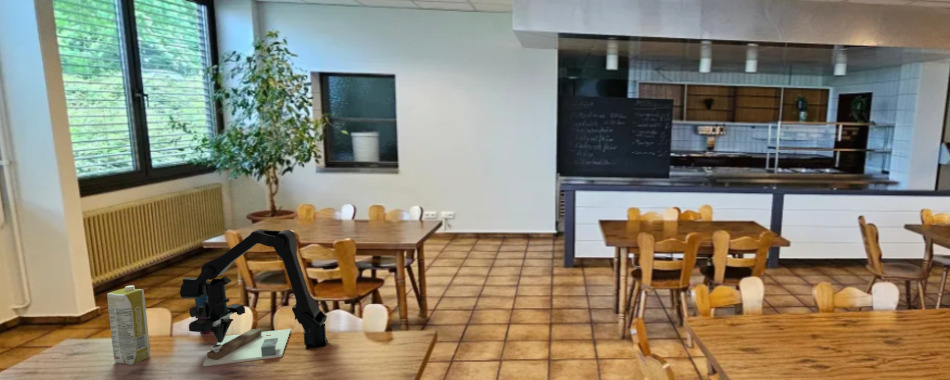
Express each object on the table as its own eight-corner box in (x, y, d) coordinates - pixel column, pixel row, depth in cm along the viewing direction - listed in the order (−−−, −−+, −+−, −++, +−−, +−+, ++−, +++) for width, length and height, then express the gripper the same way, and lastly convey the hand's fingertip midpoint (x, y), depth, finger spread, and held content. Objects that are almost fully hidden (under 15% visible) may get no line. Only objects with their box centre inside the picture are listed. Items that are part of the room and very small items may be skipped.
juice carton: (154, 356, 161) (147, 284, 158) (131, 367, 154) (123, 292, 151) (134, 352, 164) (126, 282, 162) (110, 363, 157) (101, 289, 154)
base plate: (291, 330, 179) (290, 319, 179) (282, 356, 158) (281, 343, 157) (222, 338, 174) (221, 326, 174) (203, 366, 153) (202, 353, 152)
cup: (209, 335, 177) (205, 295, 175) (192, 334, 178) (189, 294, 177) (222, 328, 184) (219, 289, 182) (206, 327, 185) (203, 288, 183)
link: (217, 359, 155) (216, 353, 155) (207, 358, 156) (207, 352, 156) (261, 334, 174) (261, 329, 173) (252, 333, 175) (252, 328, 175)
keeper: (278, 346, 164) (277, 337, 163) (275, 355, 157) (274, 345, 157) (265, 348, 163) (264, 339, 162) (261, 356, 156) (261, 347, 156)
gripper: (218, 287, 175) (222, 329, 177) (173, 304, 158) (177, 351, 159) (244, 289, 172) (248, 332, 174) (200, 307, 154) (205, 355, 156)
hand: (220, 342), depth 166 cm, fingers closed
